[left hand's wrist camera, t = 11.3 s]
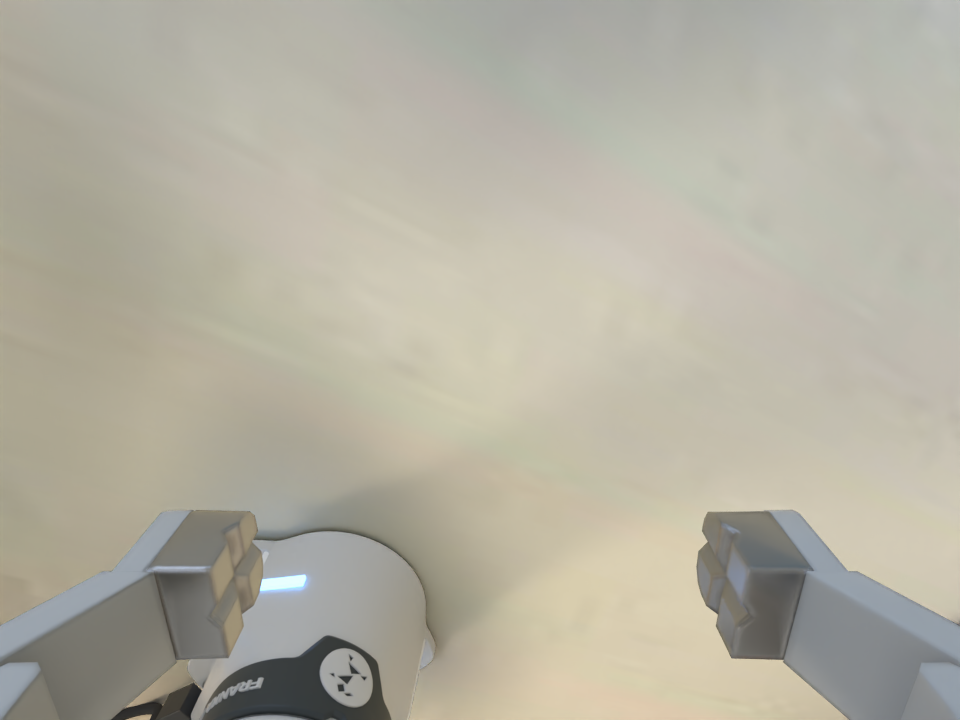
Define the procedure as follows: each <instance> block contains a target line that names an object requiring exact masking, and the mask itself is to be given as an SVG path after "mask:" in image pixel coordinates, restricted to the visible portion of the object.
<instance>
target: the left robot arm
mask: <svg viewBox="0 0 960 720" xmlns="http://www.w3.org/2000/svg"><path fill="white" fill-rule="evenodd" d="M257 532H258V529H257V524H256V519H255V515H254V514H252V513H251V512H250V511H212V510H196V511H193V510H168V511H165V512H162V513H161V514H160V515H159V516H158V517H157V518H156V519H155V521H154V522H153V523H152V524H151V525H150V526H149V528H148V529H147V530H146V531H145V532H144V534H143V535H142V536H141V537H140V538H139V540H138V541H137V542H136V543H135V544H134V546H133V547H132V548H131V549H130V550H129V551H128V553H127V554H126V555H125V556H124V557H123V559H122V560H121V561H120V562H119V563H118V565H117V566H116V567H115V568H114V569H113V570H112V571H103V572H101V573H99V574H97V575H95V576H93V577H91V578H89V579H87V580H86V581H84V582H82V583H80V584H78V585H76V586H74V587H72V588H70V589H69V590H67V591H65V592H63V593H61V594H59V595H57V596H55V597H53V598H52V599H50V600H48V601H46V602H44V603H42V604H40V605H38V606H36V607H34V608H33V609H31V610H29V611H27V612H25V613H23V614H21V615H19V616H17V617H16V618H14V619H12V620H10V621H8V622H6V623H4V624H2V625H0V720H126V719H129V718H132V717H136V716H140V715H146V714H151V715H152V716H151V719H150V720H409V717H410V713H411V708H412V703H413V698H414V694H415V689H416V684H417V679H418V674H419V670H421V669H422V668H424V667H425V666H427V665H428V664H429V663H430V662H431V661H432V660H433V658H434V654H435V649H436V645H435V641H434V639H433V637H432V635H431V633H430V631H429V629H428V627H427V625H426V599H425V594H424V590H423V587H422V584H421V582H420V580H419V578H418V576H417V575H416V573H415V572H414V570H413V569H412V568H411V567H410V565H409V564H408V563H407V562H406V561H405V560H404V559H403V558H402V557H400V556H399V555H398V554H397V553H395V552H394V551H393V550H391V549H389V548H388V547H386V546H384V545H383V544H381V543H379V542H376V541H374V540H372V539H369V538H366V537H363V536H360V535H356V534H351V533H346V532H336V531H321V532H312V533H306V534H302V535H298V536H295V537H292V538H288V539H285V540H280V541H269V540H253V539H254V537H255V535H256V534H257ZM702 532H703V534H704V535H705V537H706V539H707V541H708V542H707V543H706V544H705V545H704V546H703V547H702V548H701V549H700V550H699V551H698V559H697V579H698V585H699V589H700V592H701V595H702V597H703V600H704V602H705V604H706V606H707V607H709V608H710V609H712V610H713V611H714V612H716V613H717V614H718V618H717V623H716V627H717V629H718V631H719V633H720V635H721V637H722V640H723V642H724V644H725V646H726V648H727V650H728V652H729V654H730V656H731V658H740V659H776V660H784V661H783V662H784V663H785V664H786V665H787V666H788V667H789V668H791V669H792V670H793V671H794V672H795V673H796V674H797V675H799V676H800V677H801V678H802V679H803V680H804V681H805V682H807V683H808V684H809V685H810V686H811V687H812V688H814V689H815V690H816V691H817V692H818V693H819V694H820V695H822V696H823V697H824V698H825V699H826V700H827V701H828V702H830V703H831V704H832V705H833V706H834V707H835V708H836V709H838V710H839V711H840V712H841V713H842V714H843V715H845V716H846V717H847V718H848V719H849V720H960V626H959V625H957V624H955V623H954V622H952V621H950V620H948V619H946V618H944V617H942V616H940V615H939V614H937V613H935V612H933V611H931V610H929V609H927V608H925V607H923V606H922V605H920V604H918V603H916V602H914V601H912V600H910V599H908V598H906V597H905V596H903V595H901V594H899V593H897V592H895V591H893V590H891V589H889V588H888V587H886V586H884V585H882V584H880V583H878V582H876V581H874V580H873V579H871V578H869V577H867V576H865V575H863V574H861V573H859V572H857V571H847V569H846V568H845V567H844V566H843V565H842V563H841V562H840V561H839V560H838V559H837V557H836V556H835V555H834V554H833V553H832V552H831V550H830V549H829V548H828V547H827V546H826V544H825V543H824V542H823V541H822V540H821V538H820V537H819V536H818V535H817V534H816V533H815V531H814V530H813V529H812V528H811V527H810V525H809V524H808V523H807V522H806V521H805V519H804V518H803V517H802V516H801V515H800V514H799V513H798V512H796V511H794V510H767V511H757V512H708V513H707V515H706V517H705V518H704V523H703V528H702ZM184 659H190V660H189V663H188V667H187V670H188V673H189V674H190V676H191V677H192V678H193V679H194V681H195V682H196V683H197V684H198V685H199V686H200V687H201V688H202V690H201V689H200V688H199V687H198V686H197V685H196V684H195V683H193V684H190V685H188V686H186V687H184V688H182V689H179V690H177V691H175V692H173V693H171V694H170V695H169V696H168V698H167V700H166V702H165V704H164V705H163V706H162V705H160V704H158V703H148V704H143V705H138V706H134V707H130V708H127V709H124V708H125V707H126V706H127V705H128V704H129V703H131V702H132V701H133V700H134V699H135V698H136V697H138V696H139V695H140V694H141V693H142V692H143V691H144V690H146V689H147V688H148V687H149V686H150V685H151V684H152V683H154V682H155V681H156V680H157V679H158V678H159V677H161V676H162V675H163V674H164V673H165V672H166V671H167V670H169V669H170V668H171V667H172V666H173V665H174V664H176V662H177V661H176V660H184ZM123 709H124V710H123Z"/></svg>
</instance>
